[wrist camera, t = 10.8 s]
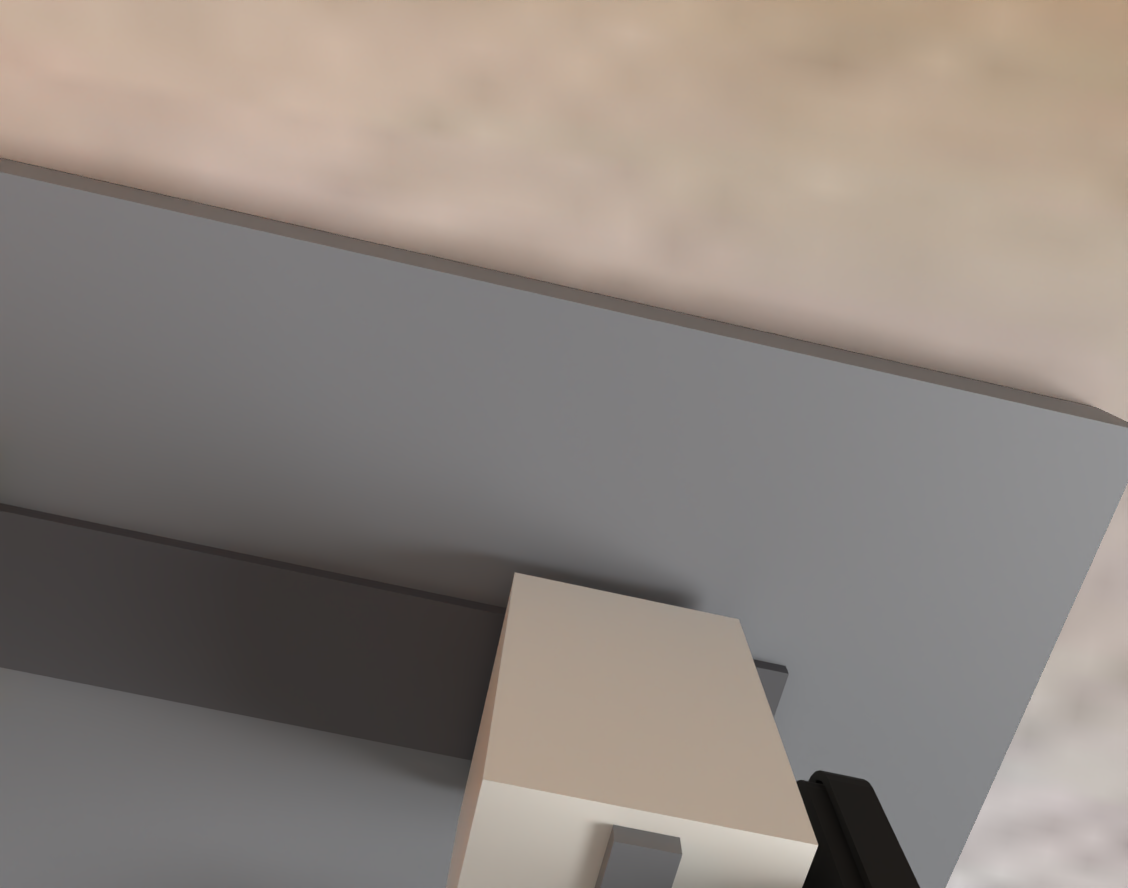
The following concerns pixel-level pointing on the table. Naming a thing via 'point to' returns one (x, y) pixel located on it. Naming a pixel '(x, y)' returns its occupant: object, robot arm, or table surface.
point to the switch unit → (464, 538)
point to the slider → (626, 753)
